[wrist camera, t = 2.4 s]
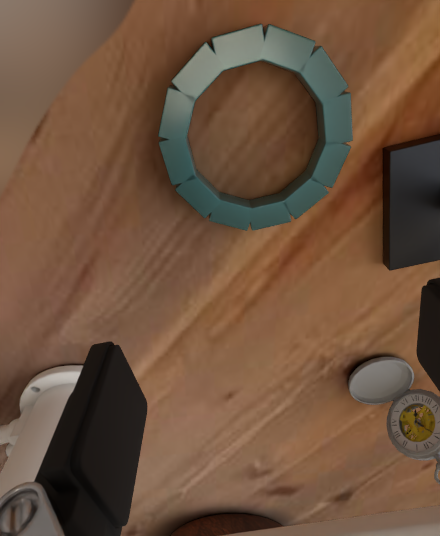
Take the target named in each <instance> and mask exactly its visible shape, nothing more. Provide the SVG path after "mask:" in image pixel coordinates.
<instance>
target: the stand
mask: <svg viewBox="0 0 440 536" xmlns="http://www.w3.org/2000/svg"><path fill="white" fill-rule="evenodd" d="M383 252H384V265H385V266H386V267H387V268H388V269H389V270H395V269H399V268H404V267H409V266H414V265H418V264H423V263H428V262H432V261H437V260H440V134H439V135H435V136H431V137H427V138H423V139H418V140H414V141H410V142H406V143H402V144H398V145H394V146H390V147H386V148H383Z"/></svg>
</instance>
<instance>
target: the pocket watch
mask: <svg viewBox="0 0 440 536" xmlns="http://www.w3.org/2000/svg"><path fill="white" fill-rule="evenodd" d="M413 381H414V373H413V370H412V368H411V367H410V366H409V365H408V363H407V362H405V361H404V360H402V359H399V358H395V357H379V358H375V359H371V360H369V361H367V362H365V363H363V364H362V365H360V366H359V367H357V368H356V370H355V371H354V372H353V373H352V374H351V376H350V379H349V382H348V386H349V391H350V393H351V395H352V397H353V398H354V399H356V400H357V401H359V402H362V403H365V404H371V405H377V404H384V403H387V402H390V401H393V404H392V406H391V407H390V409H389V413H388V416H387V430H388V436H389V438H390V440H391V441H392V443H393V445H394V446H395V447H396V448H397V450H398V451H400V452H401V453H403V454H404V455H406V456H407V457H410V458H412V459H416V460H431V459H436V460H437V462H438V463H437V464H436V470H435V480H436V481H437V482H438V483H439V484H440V480H439V479H438V471H439V470H440V397H439V396H437V395H436V394H434V393H432V392H430V391H426V390H422V389H417V390H411V391H410V390H409V388H410V387H411V385H412V383H413ZM418 407H419V408H420V409H421V410H420V411H419V412H417V413H416V410H415V413H414V412H413V411H412V410H413V409H415V408H418ZM421 407H423V408H421ZM425 408H426V410H425ZM427 409H429V412H427V413H426V411H427ZM411 411H412V412H411ZM430 411H432V412H430ZM420 413H423V416H422V418H421V417H419V414H420ZM418 418H421V420H419V419H418ZM408 421H409V422H408ZM408 424H409V426H408V427H410V428H408V429H409V430H407V431H406V430H405V425H408ZM417 427H418V428H417ZM417 430H418V431H417ZM412 432H413V434H412ZM414 433H415V434H416V435H417V437H415V436H416V435H415V434H414ZM407 434H408V435H407ZM410 434H411V435H413V436H414V435H415V436H414V437H415V439H414V437H413V438H412V439H410V438H411V435H410Z"/></svg>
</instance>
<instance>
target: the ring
mask: <svg viewBox="0 0 440 536" xmlns="http://www.w3.org/2000/svg"><path fill="white" fill-rule="evenodd" d="M211 42H212V47H213V50H212V48H211V47H210V46H209V45H208V43H207V42H205V43H204V44H203V45H202V46H201V47H200V48H199V49H198V51H197V52H196V53H195V54H194V55H193V56H192V57H191V59H190V60H189V61H188V62H187V63H186V64H185V65H184V67H183V68H182V69H181V70H180V71H179V72H178V73H177V75H176V76H175V77H174V78H173V79H172V80H171V82H172V83H173V84H174V86H175V87H174V86H169V87H168V89H167V94H166V99H165V104H164V109H163V114H162V119H161V124H160V129H159V134H158V136H159V137H161V139H160V141H159V146H160V149H161V152H162V156H163V159H164V162H165V165H166V168H167V171H168V175H169V178H170V181H171V184H172V185H176V188H175V191H176V192H177V193H178V194H180V195H181V196H182V197H183V198H184V199H185V200H186V201H187V202H188V203H189V204H190V205H191V206H192V207H193V208H194V209H195V210H196V211H197V212H198V213H199V214H201V215H202V216H203V217H204V218H206V217H207V216H208V215H209V221H212V222H216V223H219V224H223V225H227V226H231V227H235V228H238V229H242V230H246V231H247V230H248V227H249V224H250V225H251V229H252V230H257V229H262V228H266V227H270V226H275V225H279V224H283V223H288V222H291V217H290V214H291V215H292V216H293V217H294V218H295V219H297V218H298V217H300V216H301V215H302V214H303V213H305V212H306V211H307V210H308V209H309V208H311V207H312V206H313V205H314V204H316V203H317V202H318V201H319V200H320V199H322V198H323V197H324V196H325V195H327V194H328V193H329V192H328V191H327V190H326V188H325V187H324V186H327V187H330V188H332V187H333V185H334V183H335V181H336V179H337V176H338V174H339V172H340V170H341V168H342V166H343V164H344V161H345V159H346V157H347V155H348V153H349V151H350V148H351V146H349V145H348V144H346V142H350V141H352V140H353V136H352V114H351V93H349V92H345V91H344V90H345V89H346V88H348V85H347V83H346V82H345V80H344V79H343V77H342V76H341V74H340V73H339V71H338V70H337V68H336V67H335V65H334V64H333V63H332V61H331V60H330V58H329V57H328V55H327V54H326V52H325V51H324V49H323V48H322V46H316V47H314V46H315V41H314V40H311V39H308V38H306V37H303V36H300V35H298V34H295V33H292V32H290V31H287V30H284V29H282V28H279V27H276V26H273V25H271V24H268V25H267V26H265V27H264V29H263V27H262V24H258V25H254V26H251V27H247V28H244V29H240V30H237V31H233V32H230V33H226V34H223V35H219V36H215V37H212V39H211ZM258 61H263V62H266V63H268V64H271V65H274V66H277V67H280V68H283V69H285V70H288V71H291V72H294V73H295V75H296V76H297V77H298V79H299V80H300V82H301V83H302V84H303V86H304V87H305V88H306V90H307V91H308V92H309V94H310V95H311V97H312V98H313V99H314V101H315V103H316V113H317V124H318V135H319V139H318V142H317V144H316V146H315V149H314V151H313V154H312V156H311V158H310V161H309V163H308V166H307V168H306V171H304V172H303V173H302V174H301V175H300V176H299V177H298V178H296V179H295V180H294V181H293V182H292V183H291V184H289V185H288V186H287V187H286V188H285V189H284V190H282V191H281V192H280V193H278V194H273V195H269V196H265V197H261V198H257V199H252V200H246V199H243V198H239V197H236V196H232V195H228V194H225V193H221V192H219V191H218V190H217V189H216V188H215V187H214V186H213V185H212V184H211V183H210V182H209V181H208V180H207V179H206V178H205V177H204V176H203V175H202V174H201V173H200V172H199V171H198V170H197V169H196V166H195V162H194V159H193V155H192V151H191V148H190V144H189V140H188V137H187V134H188V129H189V125H190V121H191V117H192V113H193V108H194V104H195V101H196V100H197V99H198V98H199V96H200V95H201V94H202V93H203V92H204V91H205V90H206V89H207V88H208V87H209V86H210V85H211V83H212V82H213V81H214V80H215V79H216V78H217V77H218V76H219V75H220V74H221V73H222V72H223V71H225V70H228V69H232V68H236V67H239V66H243V65H247V64H250V63H254V62H258Z"/></svg>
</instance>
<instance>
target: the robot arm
mask: <svg viewBox="0 0 440 536" xmlns="http://www.w3.org/2000/svg"><path fill="white" fill-rule="evenodd" d="M417 357H418V360H419V362H420V364H421V365H422V367H423V368H424V370H425V371H426V372H427V374H428V375H429V377H430V378H431V380H432V381H433V383H434V384H435V385H436V387H437V388H438V390H439V391H440V278H436V279H431V280H429V281H428V282H427V285H426V286H423V287H422V292H421V304H420V316H419V328H418V340H417ZM19 405H20V412H21V416H20V418H18V419H14V420H12V421H11V423H10V424H9V425H0V445H2V444H5V443H9V444H8V445H7V447H6V454H7V456H8V459H7V461H6V463H5V465H4V467H3V469H2V471H1V473H0V536H120V535H121V530H122V526H125V525H126V524H127V522H128V519H129V514H130V508H131V502H132V496H133V491H134V485H135V479H136V473H137V467H138V462H139V456H140V450H141V444H142V438H143V433H144V427H145V421H146V415H147V401H146V398H145V396H144V394H143V392H142V390H141V388H140V386H139V384H138V382H137V380H136V378H135V376H134V374H133V372H132V370H131V368H130V366H129V364H128V362H127V360H126V358H125V356H124V354H123V352H122V350H121V348H120V346H119V345H114V343H113V342H105V343H100V344H94V345H92V347H91V348H90V351H89V353H88V356H87V358H86V361H85V363H84V365H83V366H82V365H68V366H60V367H55V368H52V369H48V370H46V371H44V372H42V373H40V374H38V375H36V376H35V377H34V378H33V379H31V380H30V382H29V383H28V384H27V386H26V387H25V389H24V391H23V393H22V395H21V398H20V403H19ZM222 536H440V505H438V506H430V507H423V508H415V509H408V510H401V511H393V512H386V513H378V514H371V515H364V516H356V517H349V518H342V519H335V520H328V521H320V522H313V523H306V524H299V525H292V526H285V527H278V528H270V529H263V530H256V531H249V532H242V533H235V534H229V535H222Z"/></svg>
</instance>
